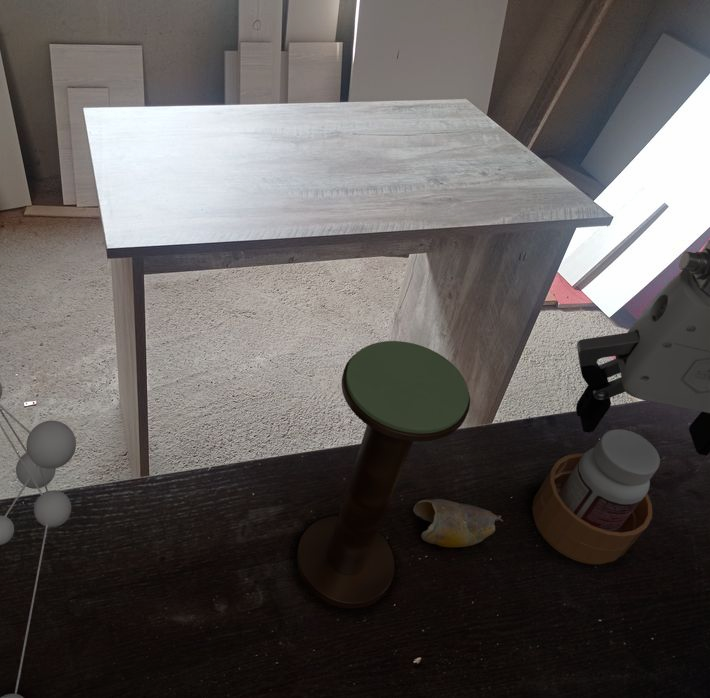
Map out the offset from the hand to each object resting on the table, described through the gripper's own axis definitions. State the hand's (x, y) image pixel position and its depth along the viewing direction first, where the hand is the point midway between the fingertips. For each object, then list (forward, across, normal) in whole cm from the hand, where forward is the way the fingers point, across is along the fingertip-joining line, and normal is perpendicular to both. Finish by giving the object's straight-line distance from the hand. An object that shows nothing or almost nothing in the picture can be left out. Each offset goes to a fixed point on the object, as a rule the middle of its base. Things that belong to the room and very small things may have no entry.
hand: (640, 431), depth 63 cm
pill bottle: (+14, 0, 0) cm, 14 cm away
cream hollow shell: (+14, -12, -5) cm, 20 cm away
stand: (+14, -23, -10) cm, 29 cm away
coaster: (-10, -23, -10) cm, 27 cm away
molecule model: (+15, -53, -19) cm, 59 cm away
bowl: (+14, 0, 0) cm, 14 cm away
